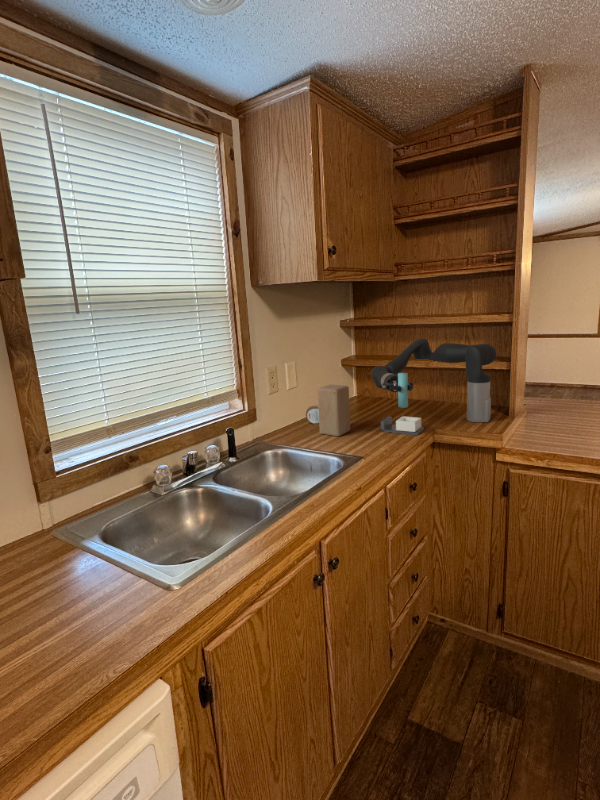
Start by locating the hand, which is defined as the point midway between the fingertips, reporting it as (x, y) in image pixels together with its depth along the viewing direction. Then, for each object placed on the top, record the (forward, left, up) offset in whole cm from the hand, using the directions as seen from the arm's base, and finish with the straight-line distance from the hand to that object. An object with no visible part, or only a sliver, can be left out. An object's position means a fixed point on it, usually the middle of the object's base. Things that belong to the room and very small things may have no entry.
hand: (405, 388), depth 184 cm
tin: (+40, +1, -18) cm, 44 cm away
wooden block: (+27, +13, -18) cm, 35 cm away
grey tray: (+2, 0, -18) cm, 18 cm away
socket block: (-1, 0, -17) cm, 17 cm away
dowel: (+2, -2, -8) cm, 8 cm away
